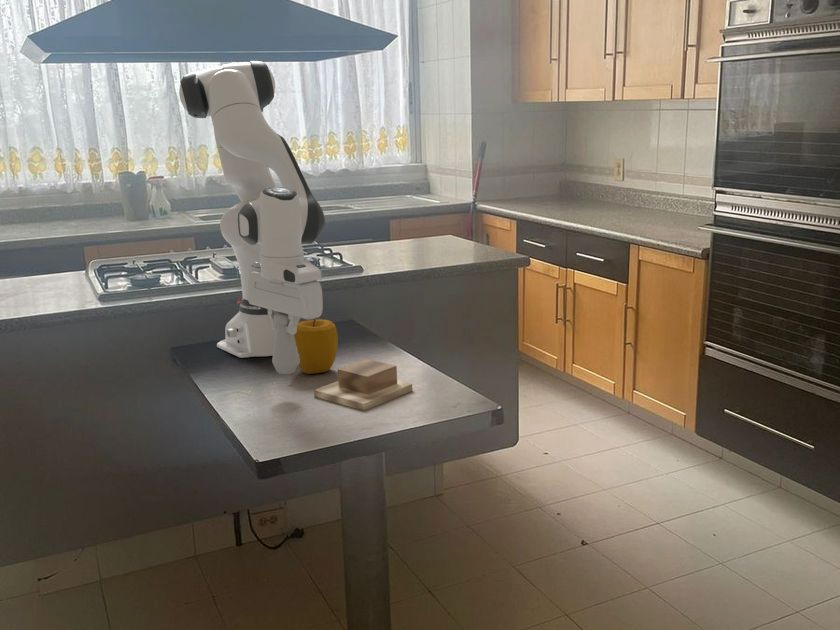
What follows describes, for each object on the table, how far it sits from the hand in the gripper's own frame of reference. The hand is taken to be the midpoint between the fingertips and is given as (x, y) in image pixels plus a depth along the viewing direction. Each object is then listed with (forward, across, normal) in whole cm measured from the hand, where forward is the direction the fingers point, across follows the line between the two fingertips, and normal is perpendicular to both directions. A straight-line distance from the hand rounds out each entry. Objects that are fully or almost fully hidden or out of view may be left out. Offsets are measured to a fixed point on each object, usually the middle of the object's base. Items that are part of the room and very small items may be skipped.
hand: (284, 331), depth 171 cm
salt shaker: (+9, 0, 0) cm, 9 cm away
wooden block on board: (+14, +12, +11) cm, 22 cm away
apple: (+15, -8, +16) cm, 23 cm away
